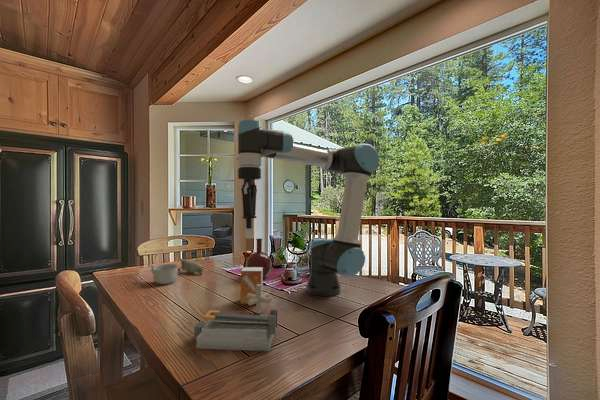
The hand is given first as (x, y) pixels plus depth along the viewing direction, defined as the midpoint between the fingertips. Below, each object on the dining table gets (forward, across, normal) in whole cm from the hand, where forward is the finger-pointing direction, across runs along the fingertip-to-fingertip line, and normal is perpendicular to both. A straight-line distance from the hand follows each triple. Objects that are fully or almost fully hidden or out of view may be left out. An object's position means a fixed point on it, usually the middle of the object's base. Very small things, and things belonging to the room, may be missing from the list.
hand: (249, 237), depth 97 cm
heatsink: (+28, +13, 0) cm, 31 cm away
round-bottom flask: (+28, -53, -7) cm, 61 cm away
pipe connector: (+28, -7, +2) cm, 29 cm away
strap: (+22, +13, 0) cm, 25 cm away
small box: (+28, -18, -3) cm, 34 cm away
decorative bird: (+28, -58, -45) cm, 79 cm away
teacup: (+28, -41, -51) cm, 71 cm away
